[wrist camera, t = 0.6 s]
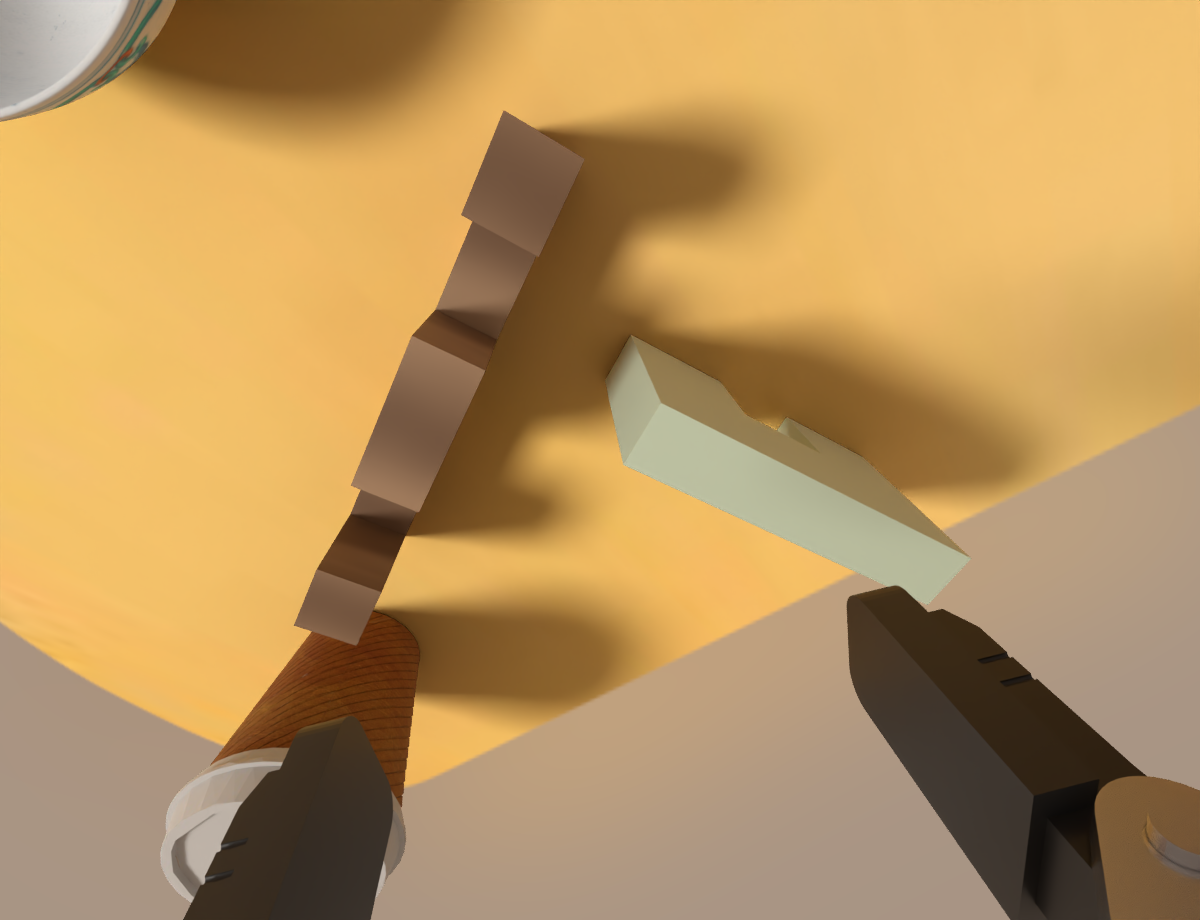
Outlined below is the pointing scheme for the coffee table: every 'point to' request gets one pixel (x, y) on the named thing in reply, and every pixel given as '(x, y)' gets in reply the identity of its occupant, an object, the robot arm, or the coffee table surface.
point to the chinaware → (69, 48)
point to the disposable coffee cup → (294, 700)
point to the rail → (442, 371)
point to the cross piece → (772, 474)
